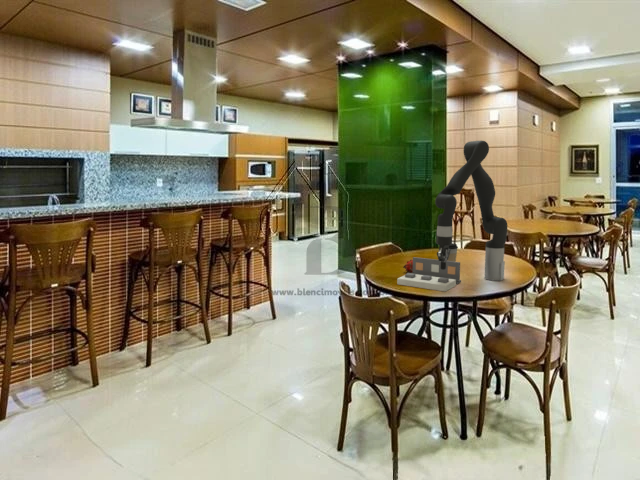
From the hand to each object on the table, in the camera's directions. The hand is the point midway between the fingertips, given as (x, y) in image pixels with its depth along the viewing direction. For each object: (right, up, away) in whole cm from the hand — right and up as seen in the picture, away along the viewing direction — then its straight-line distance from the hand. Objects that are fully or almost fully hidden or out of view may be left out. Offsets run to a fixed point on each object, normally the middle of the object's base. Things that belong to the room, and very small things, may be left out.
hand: (443, 269), depth 223 cm
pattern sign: (0, -7, +16) cm, 18 cm away
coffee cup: (+15, -3, +40) cm, 43 cm away
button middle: (-7, -7, +7) cm, 12 cm away
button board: (-7, -8, +7) cm, 13 cm away
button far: (-14, -6, +12) cm, 20 cm away
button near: (0, -8, +1) cm, 8 cm away
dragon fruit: (-8, -4, +34) cm, 35 cm away
